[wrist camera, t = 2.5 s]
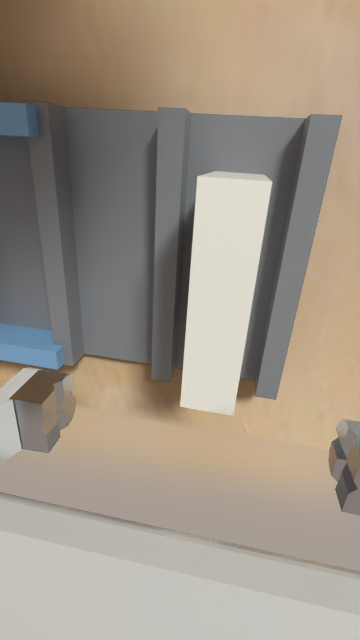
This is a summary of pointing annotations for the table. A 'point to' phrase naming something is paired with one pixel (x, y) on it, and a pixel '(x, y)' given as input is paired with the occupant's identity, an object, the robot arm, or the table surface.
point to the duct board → (144, 230)
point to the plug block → (222, 285)
